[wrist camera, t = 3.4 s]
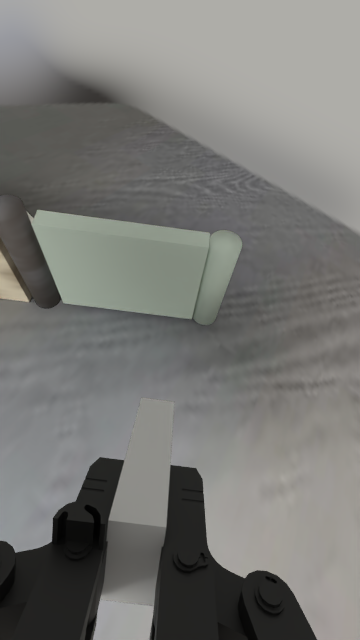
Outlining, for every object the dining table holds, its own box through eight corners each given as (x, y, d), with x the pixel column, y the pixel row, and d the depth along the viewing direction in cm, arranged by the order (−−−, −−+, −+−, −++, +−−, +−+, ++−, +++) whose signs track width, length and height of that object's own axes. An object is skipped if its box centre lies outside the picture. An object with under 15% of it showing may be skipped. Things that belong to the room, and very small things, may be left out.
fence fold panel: (62, 307, 26) (29, 229, 19) (68, 287, 27) (39, 205, 20) (215, 326, 26) (242, 257, 19) (216, 305, 27) (242, 232, 20)
